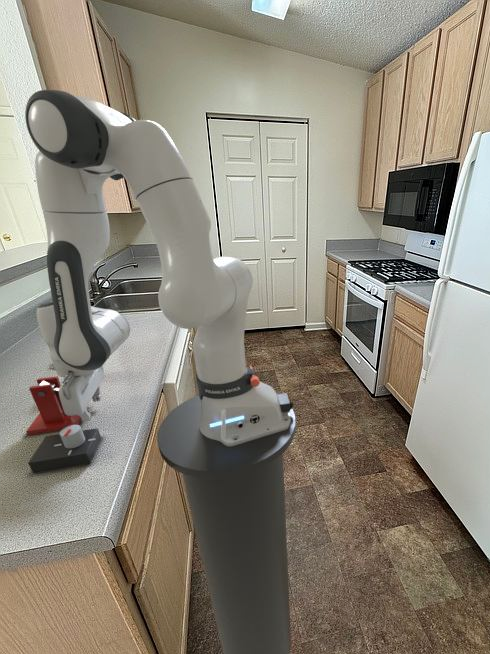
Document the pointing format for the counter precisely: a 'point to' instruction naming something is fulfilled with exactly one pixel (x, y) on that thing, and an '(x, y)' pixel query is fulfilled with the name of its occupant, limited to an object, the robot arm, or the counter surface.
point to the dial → (72, 436)
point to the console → (64, 452)
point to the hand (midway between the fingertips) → (92, 409)
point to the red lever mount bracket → (49, 409)
